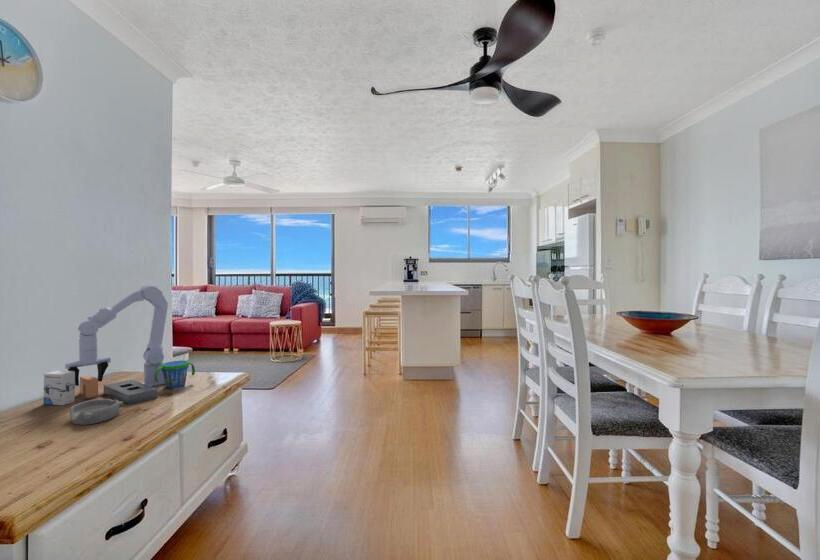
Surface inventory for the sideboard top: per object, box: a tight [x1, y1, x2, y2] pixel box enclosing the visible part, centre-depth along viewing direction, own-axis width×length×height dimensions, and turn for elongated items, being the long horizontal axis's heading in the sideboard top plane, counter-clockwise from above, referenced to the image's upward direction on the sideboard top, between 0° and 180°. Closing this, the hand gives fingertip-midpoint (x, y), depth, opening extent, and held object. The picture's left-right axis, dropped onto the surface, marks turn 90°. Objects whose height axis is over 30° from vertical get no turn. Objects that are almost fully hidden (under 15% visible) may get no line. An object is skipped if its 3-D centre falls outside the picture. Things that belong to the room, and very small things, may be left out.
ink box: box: [43, 370, 76, 406], centre depth 151 cm, size 9×5×12 cm, turn 84°
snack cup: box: [154, 360, 196, 389], centre depth 173 cm, size 16×10×10 cm
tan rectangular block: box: [79, 374, 99, 399], centre depth 161 cm, size 3×10×7 cm, turn 56°
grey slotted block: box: [103, 379, 158, 405], centre depth 160 cm, size 10×24×4 cm, turn 56°
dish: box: [69, 398, 124, 426], centre depth 136 cm, size 14×14×5 cm
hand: (88, 383), depth 161 cm, fingers open, 7 cm apart
